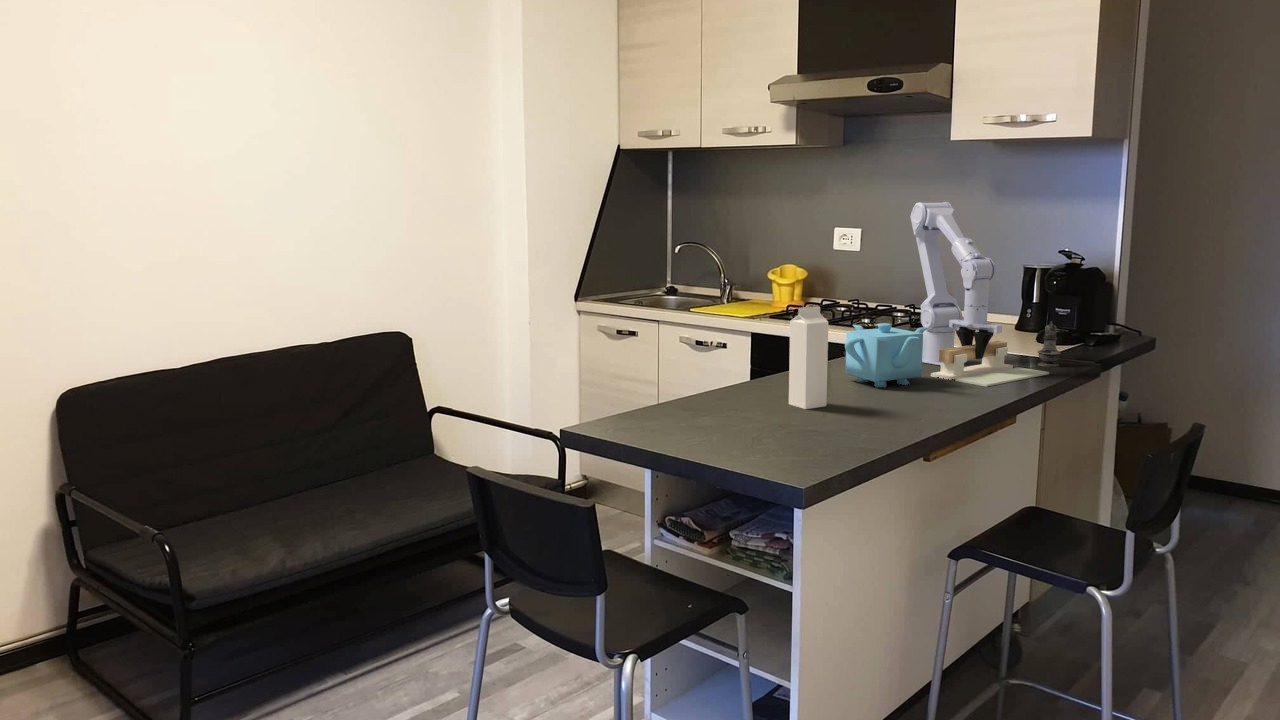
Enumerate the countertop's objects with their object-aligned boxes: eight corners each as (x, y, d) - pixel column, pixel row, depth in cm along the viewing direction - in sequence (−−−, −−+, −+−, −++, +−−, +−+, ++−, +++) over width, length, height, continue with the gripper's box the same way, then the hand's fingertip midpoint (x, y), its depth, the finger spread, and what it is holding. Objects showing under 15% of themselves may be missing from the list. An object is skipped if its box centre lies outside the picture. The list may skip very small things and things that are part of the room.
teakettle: (839, 387, 233) (841, 327, 231) (851, 373, 251) (852, 317, 248) (920, 392, 227) (923, 330, 224) (926, 377, 244) (929, 320, 242)
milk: (826, 406, 213) (829, 307, 209) (805, 409, 210) (807, 309, 206) (808, 401, 218) (811, 304, 214) (787, 404, 216) (790, 306, 212)
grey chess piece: (1056, 363, 262) (1059, 319, 260) (1063, 367, 256) (1066, 322, 254) (1033, 363, 263) (1036, 319, 261) (1040, 366, 257) (1043, 322, 255)
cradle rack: (930, 376, 246) (931, 353, 245) (993, 364, 260) (994, 343, 259) (950, 379, 241) (951, 357, 240) (1012, 368, 255) (1014, 346, 254)
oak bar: (938, 361, 244) (939, 349, 244) (996, 351, 258) (997, 340, 257) (948, 363, 242) (949, 351, 241) (1006, 353, 255) (1007, 342, 255)
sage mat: (955, 380, 240) (955, 378, 239) (1017, 369, 254) (1018, 367, 254) (986, 386, 232) (986, 384, 232) (1049, 374, 247) (1049, 372, 247)
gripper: (942, 304, 251) (940, 355, 253) (990, 309, 239) (987, 363, 242) (959, 302, 255) (957, 352, 257) (1008, 307, 243) (1004, 360, 246)
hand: (973, 357), depth 250 cm, fingers closed on oak bar, 3 cm apart
